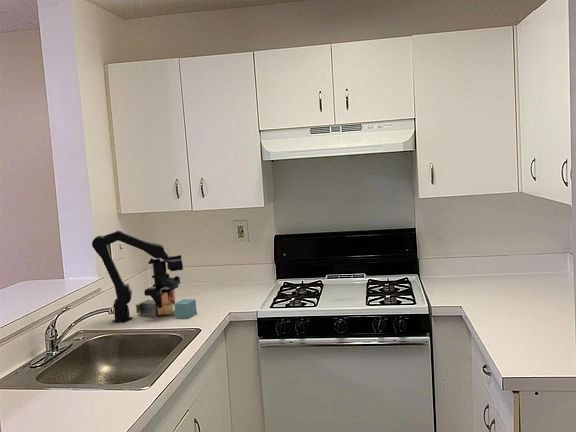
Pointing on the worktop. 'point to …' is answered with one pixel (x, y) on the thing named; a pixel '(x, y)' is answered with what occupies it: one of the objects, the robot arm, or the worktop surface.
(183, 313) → the socket block
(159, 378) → the worktop surface
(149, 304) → the sleeve
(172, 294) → the soda can
